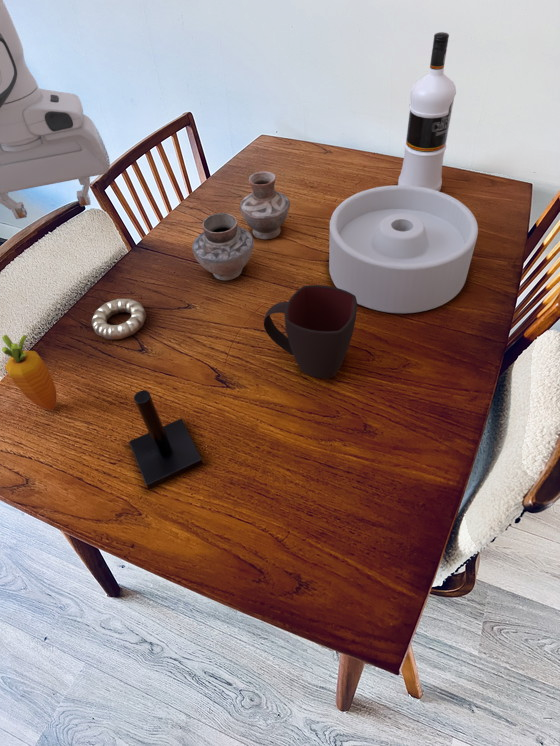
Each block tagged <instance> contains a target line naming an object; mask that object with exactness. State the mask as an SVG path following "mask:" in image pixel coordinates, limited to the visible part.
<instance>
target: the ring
mask: <svg viewBox="0 0 560 746" xmlns="http://www.w3.org/2000/svg"><path fill="white" fill-rule="evenodd" d="M119 313H128V314H130V315H131V316H130V318H128V319H127V320H126V321H125V322H122V323H119V324H109V323H107V322H108V320H109V319H110V318H111V317H112V316H114V315H117V314H119ZM146 318H147V312H146V310H145V308H144V306H143V304H142V303H140V302H139V301H137V300H134V299H132V298H116V299H112V300H110V301H108V302H105V303H103V304H102V305H101V306H100V307H98V309H96V310H95V311H94V313H93V316H92V318H91V326H92V329H93V331H94V333H95V334H96V335H97V336H99V337H102V338H103V339H106V340H123V339H125V338H127V337H131V336H132V335H134V334H136V333H137V332H138V331H139V330H140V329H141V328H142V327H143V326H144V324H145V321H146Z"/></svg>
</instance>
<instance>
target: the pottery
mask: <svg viewBox="0 0 560 746" xmlns="http://www.w3.org/2000/svg"><path fill="white" fill-rule="evenodd" d="M276 178H277V177H276V174H275V173H273V172H271V171H265V170H262V171H261V170H260V171H257V172H254V173H252V174H251V175H249V177H248V183H249V185H250V187H251V190H252V192H251V193H249V194H248V195H246V196H245V197H244V198H243V199H242V200H241V201H240V203H239V211H240V213H241V215H242V217H243V220H244V221H245V223H246V224H247V225H248V226H249V228H251V229H252V233H251V232H250V231H249V230H247V229H245V228H243V227H240V226H238V219H237V218H236V216H235V215H233V214H230V213H225V212H218V213H214V214H211V215H209V216H207V217H206V218H204V220H202V221H203V222H202V230H203V232H201V233H200V234H199V235H197V236H196V238H195V239H194V240H193V242H192V245H191V248H192V249H191V250H192V253H193V255H194V258H195V259H196V262H198V264H199V265H200V266H201V267H202V268H203V269H205V270H206V271H207V272H209V273H211V274H212V275H213V276H214V278H215V279H217V280H220V281H231V280H234V279H237V278H238V277H240V275H241V274H242V272H243V269H244V267H246V265H247V264H248V263H249V261H250V259H251V257H252V255H253V251H254V248H255V247H254V245H255V241H254V237H255V238H257V239H260V240H271V239H274V238H276V237H278V236H279V235H280V234H281V232H282V231H281V226H282V225H283V224H284V223H285V222H286V219H287V217H288V214H289V210H290V206H291V201H290V198H289V197H288V196H287V195H285V194H284V193H282V192H280V191H278V190H276V189H275V185H276ZM252 234H253V235H252ZM253 236H254V237H253Z"/></svg>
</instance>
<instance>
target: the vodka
mask: <svg viewBox="0 0 560 746" xmlns="http://www.w3.org/2000/svg"><path fill="white" fill-rule="evenodd" d="M449 37H450V34H449V33H448V32H445V31H441V32H436V33H434V35H433V41H432V47H431V48H432V49H431V55H430V56H431V57H430V63H429V68H428V69H429V70H428V73H427V74H425V75H423V76H422V77H421V78H419V79H418V80H416V81H415V82H414V83H413V85H412V87H411V90H410V100H409V102H410V103H409V106H408V107H409V113H408V121H407V122H408V123H407V129H406V131H407V132H406V137H405V138H406V139H405V142H404V153H403V154H404V155H403V159H402V160H403V161H402V165H401V170H400V174H399V176H398V181H397V185H407V186H418V187H424V188H428V189H432V190H436V191H439V192H441V189H442V185H443V184H442V183H443V178H442V174H443V163H444V157H445V153H446V149H447V141H448V134H449V130H450V124H451V117H452V113H453V106H454V100H455V97H456V94H457V89H456V88H457V87H456V84H455V83H454V81H453V80H452V79H451V78H450V77H448V76H447V75H446V74H444V73H445V72H444V71H445V62H446V57H447V52H448V43H449Z"/></svg>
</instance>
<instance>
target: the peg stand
mask: <svg viewBox="0 0 560 746" xmlns="http://www.w3.org/2000/svg"><path fill="white" fill-rule="evenodd" d="M133 401H134V403H135V405H136V408H137V410H138V412H139V414H140V417H141V419H142V421H143V422H144V423H143V424H144V426H145V428H146V430H147V433H145V434H143V435H140V436H138V437H136V438H134V439H131V440H129V442H128V443H129V446H130V448H131V450H132V453H133V456H134V458H135V461H136V464H137V466H138V468H139V471H140V473H141V476H142V479H143V481H144V484H145V486H146V488H147V490H151V489H152V488H154V487H157V486H158V485H161V484H163V483H165V482H168V481H169V480H172V479H174V478H176V477H178V476H180V475H182V474H184V473H186V472H188V471H191V470H193V469H195V468H198V467H200V466H202V465H204V461H203V459H202V456H201V455H200V453H199V451H198V449H197V447H196V444H195V443H194V440H193V438H192V436H191V435H190V432H189V430H188V428H187V426H186V424H185V423H184V420H183V419H182V418H179V419H177V420H174V421H173V422H170V423H168V424H165V425H163V423H162V420H161V417H160V415H159V413H158V410H157V408H156V406H155V403H154V401H153V398H152V396H151V393H150V392H149V391H148V390H139V391H137V392H136V393H135V394H134V396H133Z"/></svg>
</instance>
